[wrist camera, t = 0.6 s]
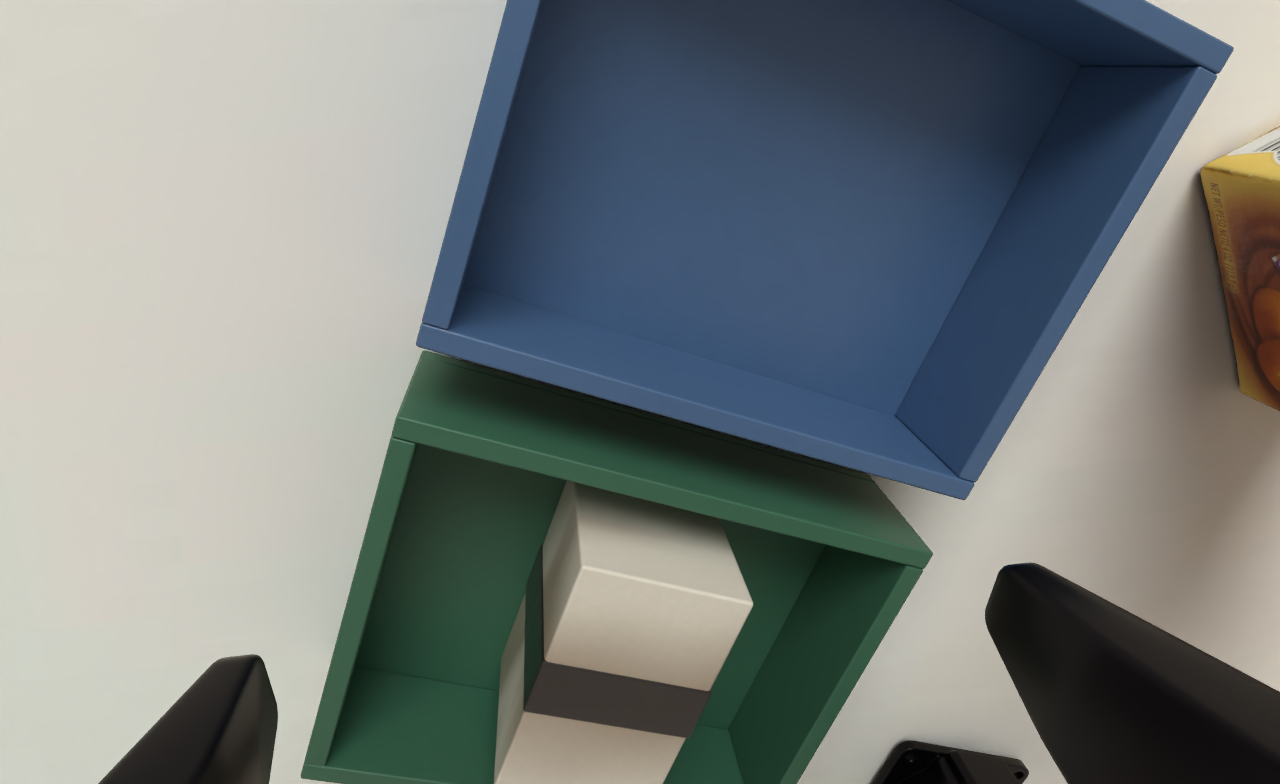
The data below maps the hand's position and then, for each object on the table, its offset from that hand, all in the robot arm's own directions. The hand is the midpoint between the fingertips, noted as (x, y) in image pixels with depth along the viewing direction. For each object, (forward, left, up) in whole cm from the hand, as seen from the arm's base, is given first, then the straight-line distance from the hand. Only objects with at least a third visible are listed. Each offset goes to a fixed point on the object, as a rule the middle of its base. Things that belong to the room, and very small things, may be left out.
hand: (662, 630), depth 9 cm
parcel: (-9, -3, -13) cm, 16 cm away
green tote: (-9, -3, -14) cm, 17 cm away
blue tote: (+5, -3, -14) cm, 15 cm away
